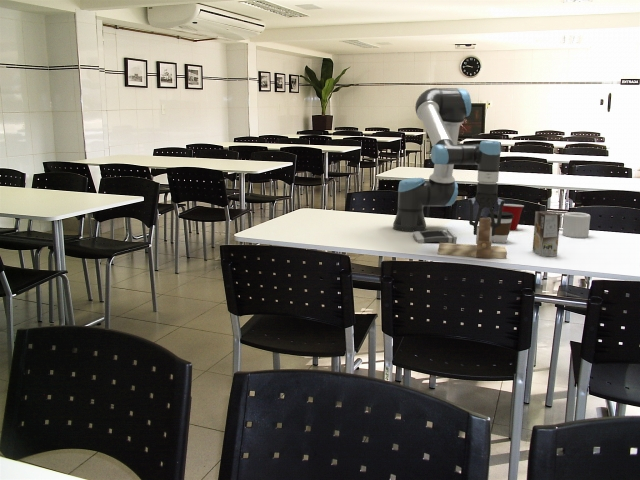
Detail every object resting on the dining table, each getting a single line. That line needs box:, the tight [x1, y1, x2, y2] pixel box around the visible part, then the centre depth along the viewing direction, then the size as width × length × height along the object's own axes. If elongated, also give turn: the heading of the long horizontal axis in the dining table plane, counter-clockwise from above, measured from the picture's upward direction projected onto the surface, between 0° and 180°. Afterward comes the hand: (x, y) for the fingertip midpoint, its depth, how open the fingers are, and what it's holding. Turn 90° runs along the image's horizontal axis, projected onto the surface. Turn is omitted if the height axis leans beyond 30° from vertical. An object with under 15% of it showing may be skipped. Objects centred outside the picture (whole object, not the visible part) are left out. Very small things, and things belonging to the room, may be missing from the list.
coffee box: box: [532, 210, 562, 257], centre depth 236 cm, size 9×6×16 cm
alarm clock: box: [412, 229, 458, 244], centre depth 262 cm, size 17×5×16 cm
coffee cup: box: [486, 211, 514, 244], centre depth 259 cm, size 11×11×12 cm
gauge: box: [476, 217, 492, 259], centre depth 232 cm, size 5×14×14 cm, turn 167°
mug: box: [559, 211, 591, 239], centre depth 274 cm, size 14×11×10 cm
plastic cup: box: [502, 203, 525, 231], centre depth 287 cm, size 11×11×12 cm
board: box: [437, 242, 508, 259], centre depth 235 cm, size 25×10×3 cm, turn 77°
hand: (483, 243), depth 234 cm, fingers closed on gauge, 4 cm apart
